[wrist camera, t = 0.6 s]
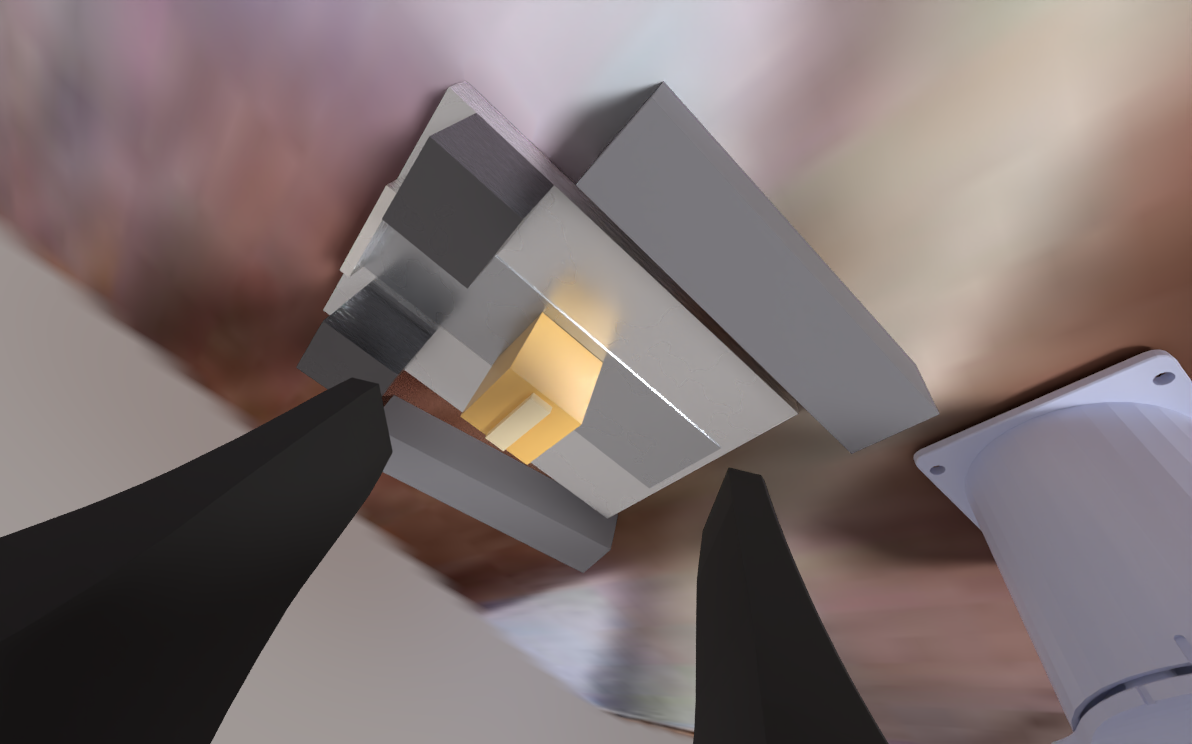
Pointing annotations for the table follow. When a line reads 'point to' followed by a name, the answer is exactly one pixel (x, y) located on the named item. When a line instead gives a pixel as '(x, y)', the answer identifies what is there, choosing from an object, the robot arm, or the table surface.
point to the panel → (537, 309)
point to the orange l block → (535, 391)
